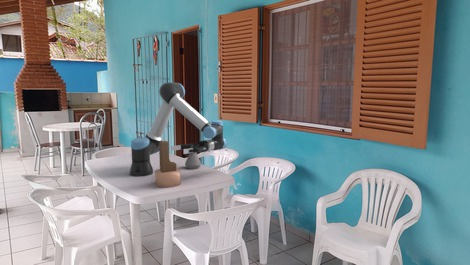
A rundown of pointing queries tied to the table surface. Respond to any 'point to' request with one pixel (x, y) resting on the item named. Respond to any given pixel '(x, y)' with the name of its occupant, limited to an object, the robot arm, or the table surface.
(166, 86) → the robot arm
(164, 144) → the wooden block
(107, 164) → the table surface
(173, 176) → the peach disc
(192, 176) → the table surface
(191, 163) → the coffee pot
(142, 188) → the table surface
